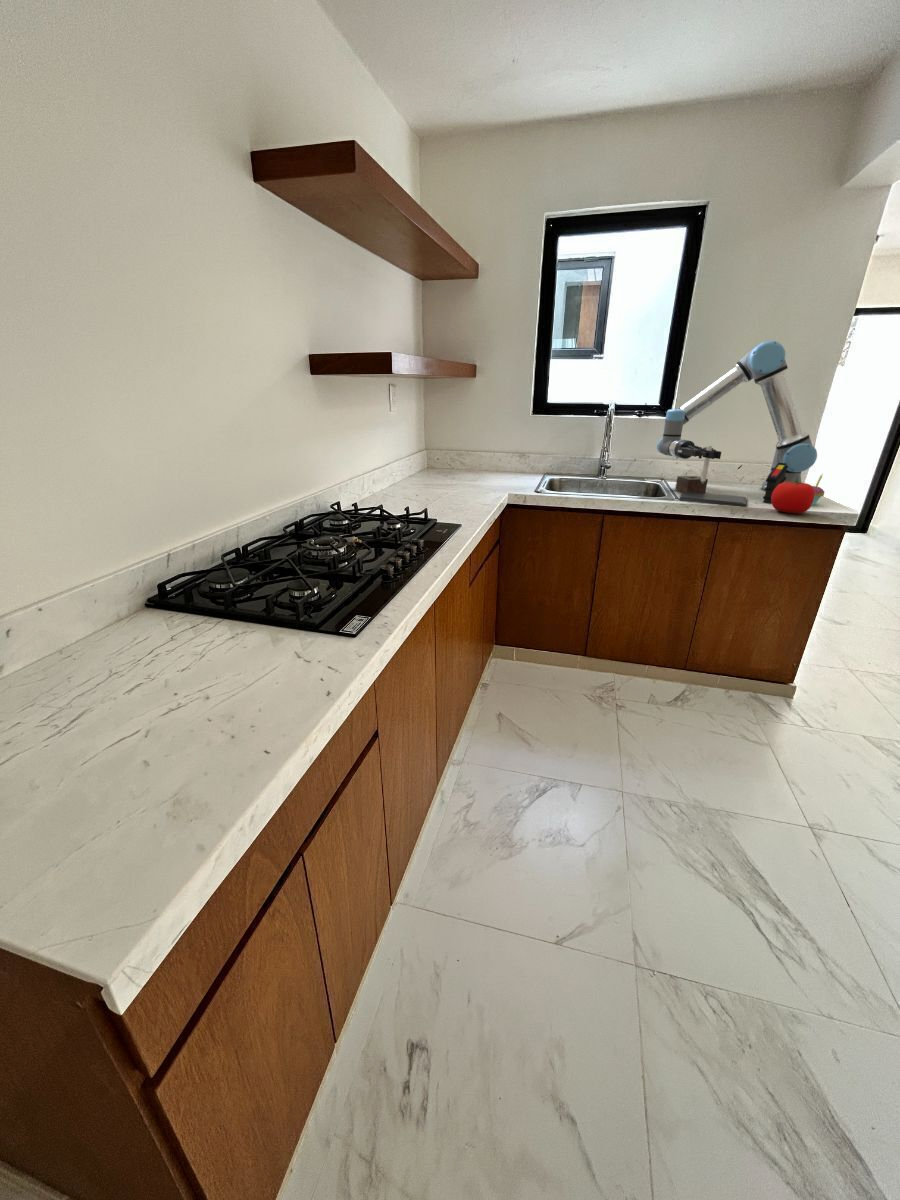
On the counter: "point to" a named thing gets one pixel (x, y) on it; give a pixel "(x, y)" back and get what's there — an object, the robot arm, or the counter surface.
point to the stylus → (705, 466)
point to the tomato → (792, 497)
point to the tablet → (713, 498)
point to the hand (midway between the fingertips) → (716, 455)
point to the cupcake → (817, 492)
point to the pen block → (690, 484)
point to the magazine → (775, 480)
